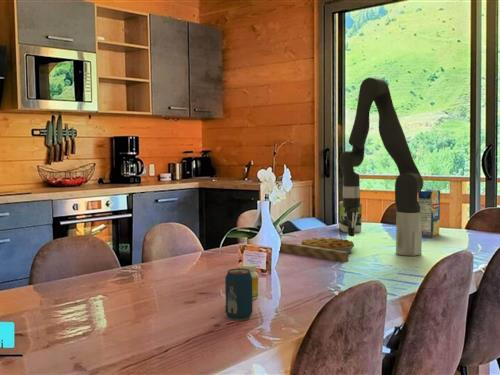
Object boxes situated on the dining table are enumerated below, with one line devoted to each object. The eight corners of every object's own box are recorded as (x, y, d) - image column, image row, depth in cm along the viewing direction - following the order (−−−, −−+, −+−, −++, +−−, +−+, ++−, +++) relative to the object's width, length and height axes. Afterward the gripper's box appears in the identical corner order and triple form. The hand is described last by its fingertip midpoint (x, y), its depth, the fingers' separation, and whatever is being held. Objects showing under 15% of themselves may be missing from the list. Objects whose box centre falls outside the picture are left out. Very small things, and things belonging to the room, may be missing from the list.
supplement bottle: (240, 300, 162) (240, 267, 161) (238, 295, 167) (238, 263, 167) (259, 300, 162) (259, 266, 162) (257, 295, 168) (257, 262, 167)
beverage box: (417, 235, 282) (418, 190, 281) (426, 232, 291) (427, 189, 289) (430, 236, 278) (432, 191, 276) (439, 234, 286) (440, 190, 285)
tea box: (361, 232, 292) (362, 203, 291) (342, 232, 292) (342, 203, 291) (357, 228, 307) (357, 200, 306) (338, 228, 307) (338, 200, 306)
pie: (337, 245, 253) (337, 234, 253) (364, 254, 233) (364, 242, 232) (292, 249, 245) (292, 237, 245) (316, 258, 225) (316, 245, 224)
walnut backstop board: (348, 260, 218) (348, 251, 218) (343, 262, 216) (343, 252, 216) (277, 249, 243) (277, 240, 243) (272, 250, 241) (272, 241, 241)
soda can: (252, 312, 150) (252, 267, 149) (252, 320, 143) (253, 273, 142) (225, 313, 150) (225, 267, 149) (225, 321, 143) (225, 273, 142)
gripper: (349, 198, 242) (349, 238, 243) (367, 196, 252) (367, 235, 253) (335, 197, 247) (335, 236, 249) (352, 195, 257) (352, 233, 258)
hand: (351, 236), depth 251 cm, fingers closed
